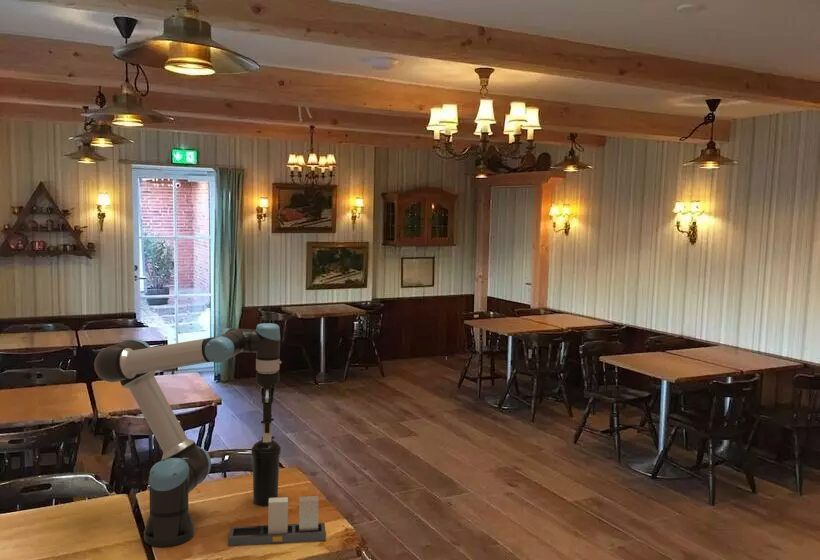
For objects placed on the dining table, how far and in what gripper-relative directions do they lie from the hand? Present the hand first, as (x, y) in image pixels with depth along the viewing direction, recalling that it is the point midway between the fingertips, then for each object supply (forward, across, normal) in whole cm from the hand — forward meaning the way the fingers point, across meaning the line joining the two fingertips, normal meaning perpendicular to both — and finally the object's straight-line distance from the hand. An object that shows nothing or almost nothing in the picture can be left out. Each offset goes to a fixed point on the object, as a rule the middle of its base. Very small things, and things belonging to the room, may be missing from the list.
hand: (267, 441), depth 220 cm
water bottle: (+29, +18, +1) cm, 34 cm away
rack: (+28, -10, -4) cm, 30 cm away
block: (+28, -10, -4) cm, 30 cm away
